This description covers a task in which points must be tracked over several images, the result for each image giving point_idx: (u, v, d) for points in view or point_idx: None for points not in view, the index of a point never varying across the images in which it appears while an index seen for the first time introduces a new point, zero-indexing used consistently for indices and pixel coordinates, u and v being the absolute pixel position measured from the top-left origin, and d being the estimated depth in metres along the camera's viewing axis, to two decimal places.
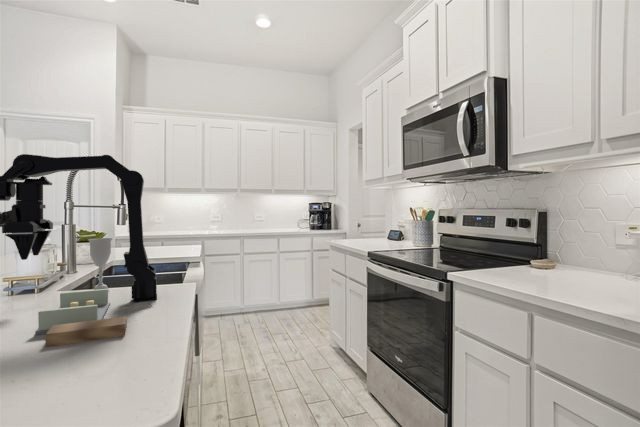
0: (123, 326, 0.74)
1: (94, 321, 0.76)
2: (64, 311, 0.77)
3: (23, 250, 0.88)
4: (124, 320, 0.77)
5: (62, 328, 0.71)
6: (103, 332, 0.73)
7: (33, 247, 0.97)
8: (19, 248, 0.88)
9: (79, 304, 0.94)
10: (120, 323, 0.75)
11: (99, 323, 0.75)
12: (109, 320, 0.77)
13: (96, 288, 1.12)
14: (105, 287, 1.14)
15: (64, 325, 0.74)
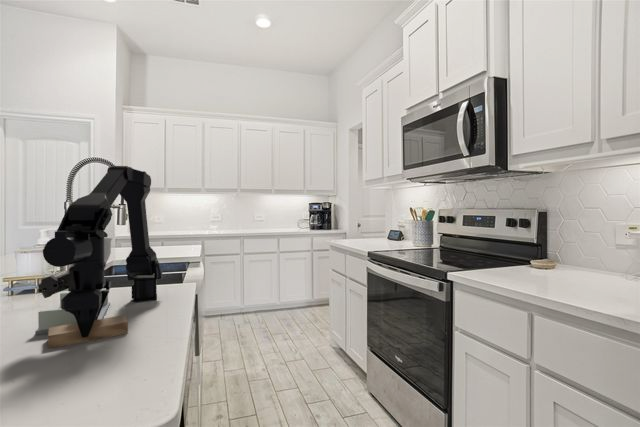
0: (126, 324, 0.76)
1: None
2: (64, 311, 0.77)
3: (85, 326, 0.69)
4: (124, 318, 0.78)
5: (62, 330, 0.71)
6: (106, 331, 0.74)
7: None
8: (80, 324, 0.69)
9: None
10: (122, 321, 0.76)
11: (99, 323, 0.75)
12: (108, 319, 0.77)
13: None
14: None
15: (61, 326, 0.73)
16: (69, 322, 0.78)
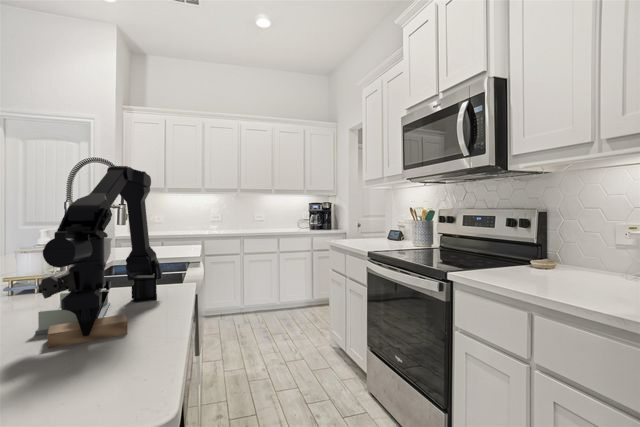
0: (125, 323, 0.76)
1: None
2: (64, 311, 0.77)
3: (86, 325, 0.70)
4: (124, 318, 0.78)
5: (62, 328, 0.71)
6: (106, 330, 0.73)
7: None
8: (81, 323, 0.70)
9: None
10: (122, 320, 0.76)
11: (99, 321, 0.75)
12: (108, 318, 0.77)
13: None
14: None
15: (62, 325, 0.73)
16: (69, 322, 0.78)
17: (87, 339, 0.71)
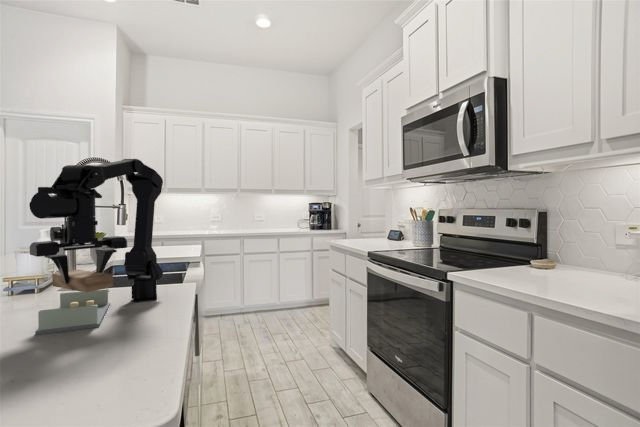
0: (86, 281, 0.76)
1: (93, 272, 0.84)
2: (64, 311, 0.77)
3: (61, 273, 0.78)
4: (98, 276, 0.79)
5: (68, 273, 0.83)
6: (76, 283, 0.78)
7: (96, 269, 0.85)
8: (59, 270, 0.79)
9: (79, 304, 0.94)
10: (88, 278, 0.77)
11: (86, 274, 0.81)
12: (97, 274, 0.82)
13: None
14: None
15: (79, 271, 0.86)
16: (69, 322, 0.78)
17: (68, 287, 0.80)
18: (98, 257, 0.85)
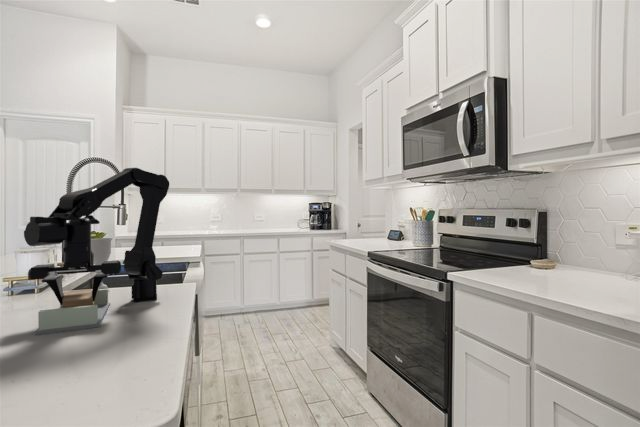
0: (62, 305, 0.79)
1: (87, 295, 0.87)
2: (64, 311, 0.77)
3: None
4: (76, 301, 0.81)
5: (74, 292, 0.90)
6: None
7: None
8: None
9: None
10: (66, 302, 0.80)
11: (77, 297, 0.85)
12: (84, 297, 0.84)
13: None
14: (105, 287, 1.14)
15: (86, 290, 0.91)
16: (69, 322, 0.78)
17: None
18: None
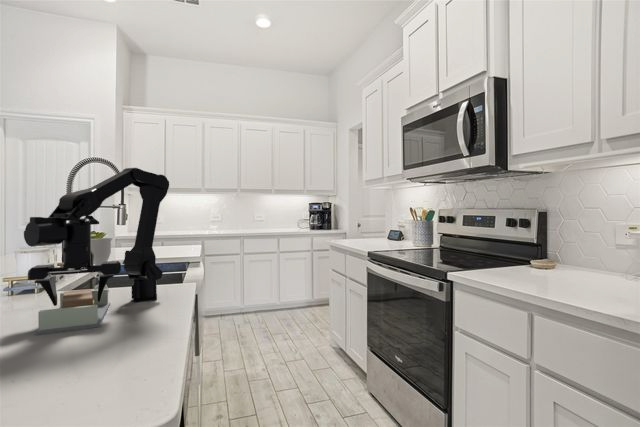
0: (62, 305, 0.79)
1: (87, 295, 0.87)
2: (64, 311, 0.77)
3: None
4: (76, 301, 0.81)
5: (74, 292, 0.90)
6: None
7: None
8: None
9: None
10: (66, 302, 0.80)
11: (77, 297, 0.85)
12: (84, 297, 0.84)
13: (96, 288, 1.12)
14: (105, 287, 1.14)
15: (86, 290, 0.91)
16: (69, 322, 0.78)
17: None
18: None
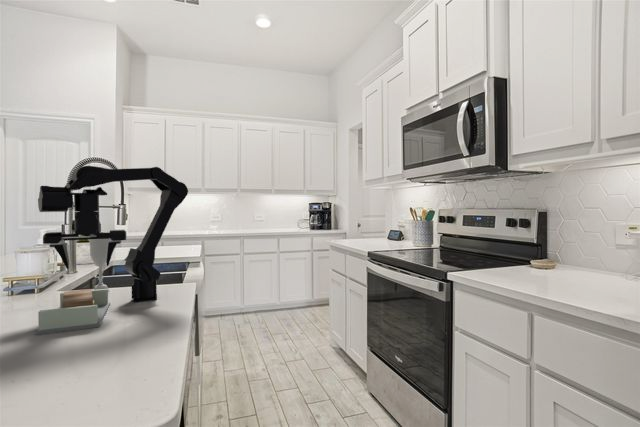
0: (62, 305, 0.79)
1: (87, 295, 0.87)
2: (64, 311, 0.77)
3: None
4: (76, 301, 0.81)
5: (74, 292, 0.90)
6: None
7: None
8: None
9: None
10: (66, 302, 0.80)
11: (77, 297, 0.85)
12: (84, 297, 0.84)
13: (96, 288, 1.12)
14: (105, 287, 1.14)
15: (86, 290, 0.91)
16: (69, 322, 0.78)
17: None
18: None
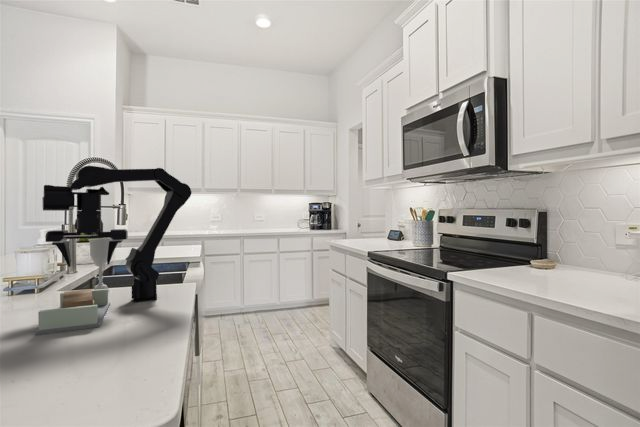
0: (62, 305, 0.79)
1: (87, 295, 0.87)
2: (64, 311, 0.77)
3: None
4: (76, 301, 0.81)
5: (74, 292, 0.90)
6: None
7: None
8: None
9: None
10: (66, 302, 0.80)
11: (77, 297, 0.85)
12: (84, 297, 0.84)
13: (96, 288, 1.12)
14: (105, 287, 1.14)
15: (86, 290, 0.91)
16: (69, 322, 0.78)
17: None
18: None
